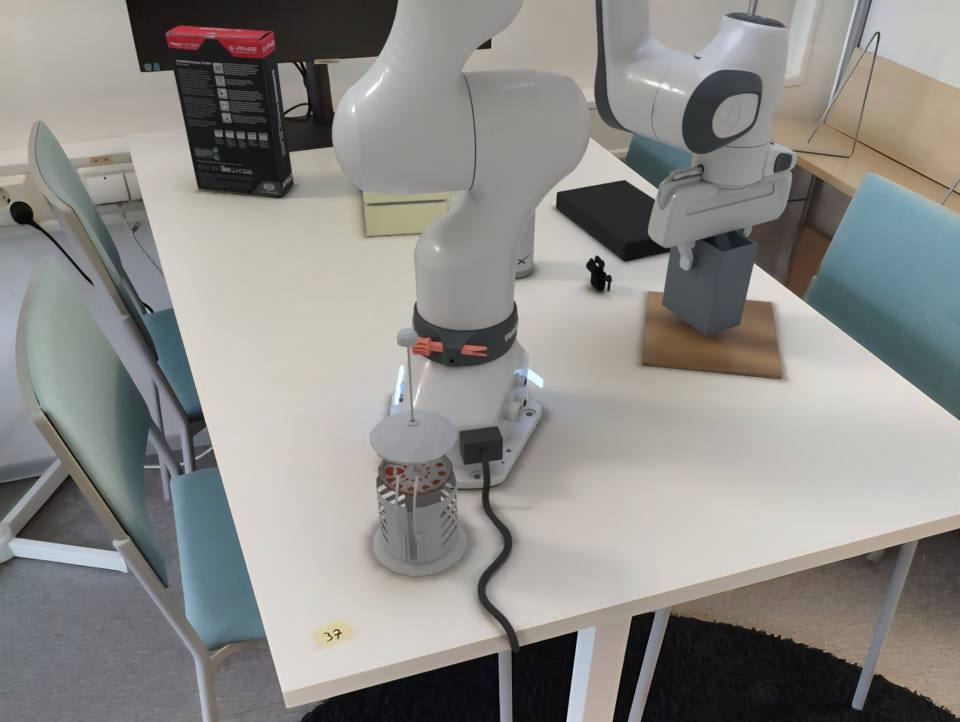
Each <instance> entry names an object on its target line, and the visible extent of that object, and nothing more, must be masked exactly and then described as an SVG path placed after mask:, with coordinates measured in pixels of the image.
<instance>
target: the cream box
mask: <svg viewBox="0 0 960 722" xmlns="http://www.w3.org/2000/svg"><path fill="white" fill-rule="evenodd" d="M361 193H362V200H363V201H362V202H363V209H364V221H365V232H366V233H365V234H366V237H376V236H378V237H379V236H395V235H412V234H422V232H423V231H424V229H425V228H426V227H427V226H428V225H429V224H430V223H431V222H432V221H434V220H435V219H437V218H438V217H440V216H441V215H443V214H445V213H446V212H448V211H449V207H448V206H449V205H448V203H449V202H448V192H442V193H430V194H419V195H407V196H403V195H394V194H384V193H377V192H369V191H362V190H360V191H359V194H361Z"/></svg>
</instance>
